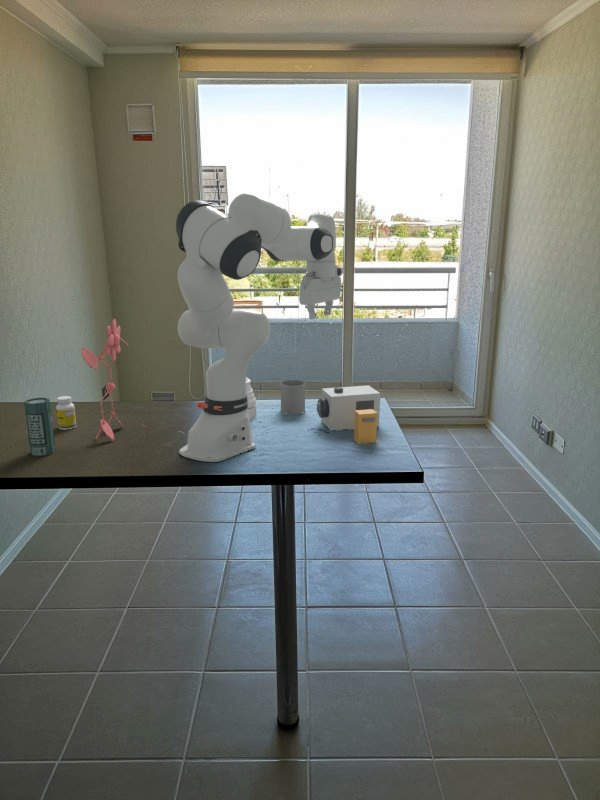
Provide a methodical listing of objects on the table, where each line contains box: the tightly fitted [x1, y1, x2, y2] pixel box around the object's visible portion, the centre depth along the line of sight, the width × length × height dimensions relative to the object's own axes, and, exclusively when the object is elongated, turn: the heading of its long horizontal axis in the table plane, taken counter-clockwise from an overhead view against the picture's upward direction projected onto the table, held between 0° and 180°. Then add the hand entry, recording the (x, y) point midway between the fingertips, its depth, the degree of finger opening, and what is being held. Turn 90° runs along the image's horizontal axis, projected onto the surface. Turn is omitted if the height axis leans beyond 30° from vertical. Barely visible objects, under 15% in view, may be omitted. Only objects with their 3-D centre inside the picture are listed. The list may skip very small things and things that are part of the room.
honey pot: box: [246, 376, 257, 420], centre depth 198 cm, size 13×13×18 cm
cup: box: [280, 379, 306, 415], centre depth 203 cm, size 8×8×10 cm
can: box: [23, 397, 56, 457], centre depth 164 cm, size 6×6×15 cm
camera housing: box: [316, 385, 381, 431], centre depth 188 cm, size 10×19×12 cm, turn 105°
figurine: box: [81, 318, 149, 446], centre depth 176 cm, size 15×26×35 cm, turn 179°
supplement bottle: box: [55, 395, 77, 431], centre depth 185 cm, size 5×5×10 cm
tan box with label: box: [353, 409, 378, 445], centre depth 174 cm, size 4×6×9 cm
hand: (320, 317), depth 182 cm, fingers open, 8 cm apart
